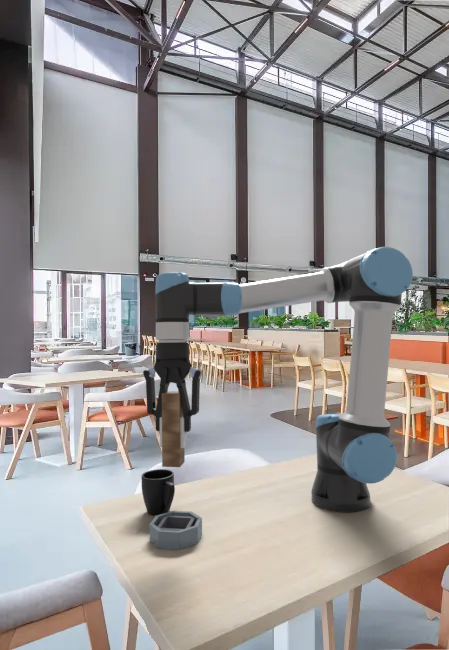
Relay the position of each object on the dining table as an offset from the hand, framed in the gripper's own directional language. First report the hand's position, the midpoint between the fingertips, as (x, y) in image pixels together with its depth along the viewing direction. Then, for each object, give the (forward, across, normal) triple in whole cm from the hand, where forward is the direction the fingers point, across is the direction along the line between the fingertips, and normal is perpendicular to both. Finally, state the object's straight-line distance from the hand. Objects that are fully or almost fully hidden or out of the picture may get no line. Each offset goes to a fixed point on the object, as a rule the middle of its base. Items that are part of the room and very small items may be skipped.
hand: (173, 445), depth 95 cm
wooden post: (+4, 0, 0) cm, 4 cm away
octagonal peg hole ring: (+20, 0, 0) cm, 20 cm away
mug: (+20, +7, -12) cm, 25 cm away
